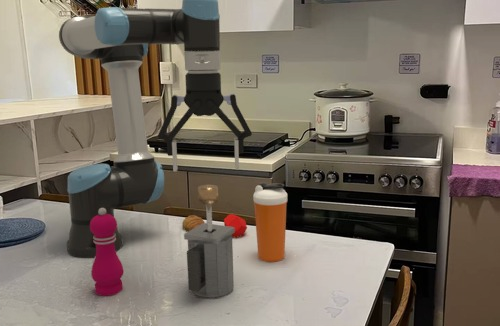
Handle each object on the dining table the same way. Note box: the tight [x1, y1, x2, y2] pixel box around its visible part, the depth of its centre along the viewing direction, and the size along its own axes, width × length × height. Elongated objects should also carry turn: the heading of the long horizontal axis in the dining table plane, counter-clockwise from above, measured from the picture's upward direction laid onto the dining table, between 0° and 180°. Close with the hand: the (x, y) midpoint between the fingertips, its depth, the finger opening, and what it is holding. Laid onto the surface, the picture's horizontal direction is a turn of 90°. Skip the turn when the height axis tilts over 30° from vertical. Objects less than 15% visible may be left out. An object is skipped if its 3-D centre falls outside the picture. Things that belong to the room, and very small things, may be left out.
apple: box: [223, 213, 248, 238], centre depth 158 cm, size 7×7×8 cm
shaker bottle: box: [252, 181, 288, 263], centre depth 138 cm, size 9×9×20 cm
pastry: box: [181, 214, 205, 232], centre depth 163 cm, size 9×7×4 cm
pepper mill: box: [90, 208, 124, 297], centre depth 121 cm, size 7×7×20 cm
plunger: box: [197, 184, 219, 233], centre depth 119 cm, size 7×7×20 cm
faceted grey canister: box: [183, 222, 235, 300], centre depth 119 cm, size 10×13×14 cm
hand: (206, 169), depth 117 cm, fingers open, 13 cm apart
